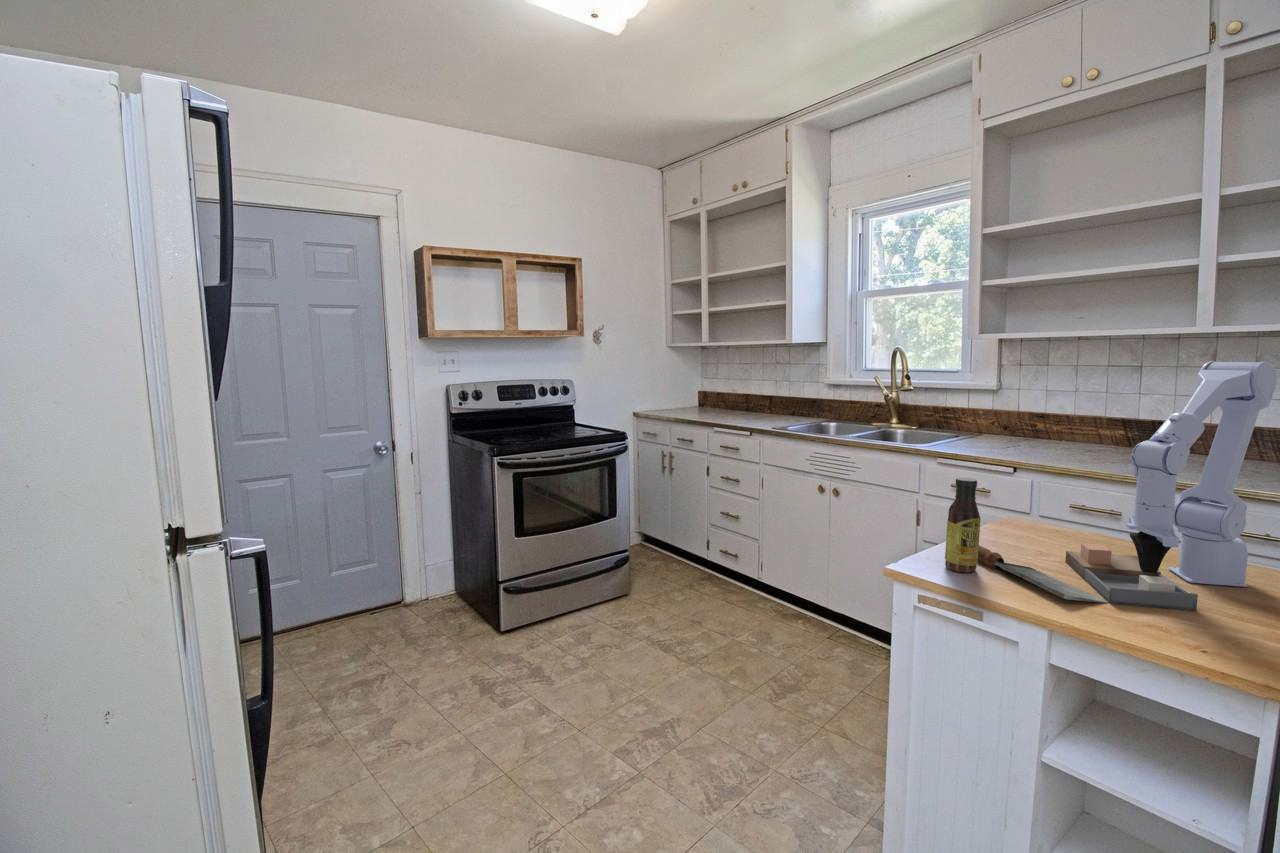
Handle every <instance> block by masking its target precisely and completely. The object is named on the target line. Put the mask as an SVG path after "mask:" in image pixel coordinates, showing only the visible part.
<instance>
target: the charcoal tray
mask: <svg viewBox="0 0 1280 853" xmlns="http://www.w3.org/2000/svg"><path fill="white" fill-rule="evenodd" d="M1158 577H1165V578H1167V577H1166V576H1165V575H1163V574H1162V573H1161V574H1158ZM1167 579H1168V580H1169V581H1171V582H1172V583H1173V584H1175V592H1169V591H1156V590H1144V589H1138V585H1139V576H1130V575H1117V574H1104V573H1092V572H1091V571H1090V570H1088V569H1084V579H1083V580H1084V581H1085V582H1087V583H1088V585H1090V586H1091V587H1092V588H1093V589H1094V590H1095V591H1096V592H1097V593H1098V594H1099V595H1101V597H1102V598H1104V599H1105V601H1107V602H1109V603H1108V604H1113V605H1114V604H1115V605H1123V606H1124V605H1125V606H1133V607H1134V606H1136V607H1147V608H1159V609H1170V610H1179V611H1180V610H1181V611H1191V612H1192V611H1193V612H1197V609H1198V608H1197V606H1198V600H1199V599H1198V597H1199V595H1198V593H1192V592H1191V593H1190V592H1187V590H1185V589H1183V588H1182V587H1181V586H1179V585H1177V584H1176V583H1174V582H1173V581H1172V580H1171V579H1169V578H1167Z"/></svg>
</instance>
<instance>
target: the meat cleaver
mask: <svg viewBox="0 0 1280 853" xmlns="http://www.w3.org/2000/svg"><path fill="white" fill-rule="evenodd" d="M977 563H980V564H982V565H986V567H988V568H989V569H992V570H993V569H994V570H998V569H1003V570H1005V571H1007V572H1009V573H1011V574H1013V575H1015V576H1017V577H1019V578H1022V579H1023V580H1025V581H1026V582H1030V583H1031V584H1033V585H1036V586H1037V587H1039V588H1041V589H1043V590H1046V591H1047V592H1049V593H1051V594H1053V595H1055V596H1057V597H1059V598H1062V599H1065V600H1069V601H1070V600H1071V601H1078V602H1079V601H1080V602H1091V603H1101V604H1103V603H1104V604H1110V603H1109V602H1108V601H1107V600H1106V599H1105V600H1104V599H1103V598H1100V597H1098V596H1095V595H1094V594H1091V593H1090V592H1087V591H1085V590H1082V589H1080V588H1078V587H1075V586H1073V585H1072V584H1069V583H1066V582H1065V581H1062V580H1061V579H1058V578H1056V577H1054V576H1051V575H1049V574H1046V573H1044V572H1042V571H1040V570H1038V571H1037V569H1035V568H1033V567H1031V566H1024V565H1021V564H1014V563H1008V562H1005V560H1004V558H1003V557H1002V555H1001V554H1000V553H999V552H993V551H992V550H990V549H988V548H985V547H984V546H981V545H979V548H978V562H977Z"/></svg>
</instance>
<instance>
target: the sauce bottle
mask: <svg viewBox="0 0 1280 853" xmlns="http://www.w3.org/2000/svg"><path fill="white" fill-rule="evenodd" d="M977 487H978V480H977V479H975V478H973V477H972V478H971V477H956V478H955V488H956V489H955V500H954V501H953V502H952V503H951V504H950V506H949V508H948V517H947V521H946V522H947V523H946V524H947V525H946V538H945V552H944V559H945V563H944V565H945V567H946V568H947V569H949V571H953V572H957V573H964V574H965V573H968V574H969V573H973V572H975V571H976V570H977V566H978V563H979V562H978V548H979V544H980V533H981V532H980V531H981V521H982V520H981V516H980V512H979V509H978V505H977V501H976V499H977V498H976V492H977Z"/></svg>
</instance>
